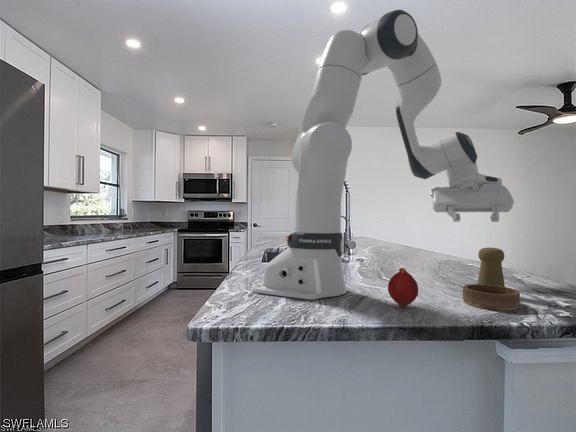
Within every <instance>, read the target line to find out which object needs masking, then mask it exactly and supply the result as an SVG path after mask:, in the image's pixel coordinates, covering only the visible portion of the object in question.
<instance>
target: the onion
mask: <svg viewBox="0 0 576 432" xmlns="http://www.w3.org/2000/svg"><path fill="white" fill-rule="evenodd" d="M398 270H399V271H398V272H396V273H395V274H393V275H392V276H391V278H390V279H389V280H388V284H387V291H388V295H389V296H390V298H391V300H393V301H394V302H395V303H396V304H397V305H398V306H399V307H400V308H406V307H407V306H409V305H410V304H412V303H413V302H415V300H416V299H417V298H418V296H419V286H418V282H417V281H416V279H415V278H414V277H413V276H412V274H410V273H409V272H408V271H407V270H406V268H404V267H401V268H398Z"/></svg>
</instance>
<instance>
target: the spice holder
mask: <svg viewBox="0 0 576 432" xmlns="http://www.w3.org/2000/svg"><path fill="white" fill-rule="evenodd" d="M520 293H521V292H520V291H518V290H517V289H513V288H511V287H506V286H505V287H502V286H496V285H486V284H478V283H469V284H468V283H467V284H464V285H463V286H462V301H463V303H464V302H465V303H464V304H466V303H467V304H466V305H468V304H469V305H468V306H471V305H472V306H471V307H474V306H475V307H474V308H477V309H482V310H488V311H496V312H497V311H499V312H513V311H517V310H520V305H521V304H520V303H521V299H520V298H521V296H520V295H521V294H520Z"/></svg>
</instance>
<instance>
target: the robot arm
mask: <svg viewBox="0 0 576 432" xmlns="http://www.w3.org/2000/svg"><path fill="white" fill-rule="evenodd" d="M385 67H386V68H388V69H389V70H390V72H391V75H392V77H393V80H394V81H395V84H396V86H397V87H396V88H398V93H399V100H398V102H397V103H396V105H395V113H396V114H395V115H396V119H397V123H398V126H399V131H400V134H401V137H402V141H403V145H404V148H405V151H406V155H407V160H408V161H407V162H408V167H409V170H410V172H411V173H412V175H413V177H416V178H418V179H421V180H422V179H423V180H427V179H429V178H431V177H433V176H435V175H437V174H440V173H442V172H444V171H445V172H446V177H447V179H448V185H449V186H441V187H439V186H436V187H434V188H432V189H430V191H429V195H430V197H431V198H432V209H433V211H434V212H436V213H447V215H448V216H449V217H451V218H452V221H453V223H454V222H455V223H456V222H457V223H459V222H461V221H460V220H461V214H460V213H491V215H490V221H491V223H498V222H499V221H500V213H509V212H510V211H511V210H512V208H513V207H514V203H515V202H514V198H513V195H512V194H511V192H510V189H508V188H507V187H506V186H505V185H503V179H502V178H501V177H495V176H490V175H485V174H482V173H480V172H478V171H479V169H478V168H479V167H478V165H477V161H478V154H477V152H476V149H475V148H476V147H475V145H474V142H473V141H472V139H471V138H470V136H469V135H467V134H465V133H464V132H459V131H456V132H452V133H450V134H447V135H445V136H443V137H441V138H439V139H436V140H435V141H432V142H430V143H428V144H425V145H420V143H419V140H418V135H417V132H416V129H415V126H414V125H415V121H416V119H417V117H418V116H419V115H420V114H421V113H422V112H423V110H424V109H426V107H427V106H428V105H429V104H430V103H432V102H433V100H434V99H435V98H436V96H437V94H439V93H438V92H439V91H440V89H441V85H442V76H441V71H440V69H439V66H438V64H437V62H436V60H435V58H434V56H433V54H432V52H431V50H430V48H429V46H428V45H427V43H426V42H425V41H424V39H423V38H422V36H421V35H420V34H419V30H418V26H417V23H416V21H415V18H414V17H413V16H412V15H411V14H409V12H407V11H406V10H403V9H396V10H392V11H389V12H387V13H385V14H383V15H382V16H381V17H380V18H378V19H375V20H374V21H372V22H370V23H367V24H366V25H365V26H363V27H362V28H361V29H359V30H358V31H357V32H356V31H354V30H351V29H342V30H339V31H337V32H335V33H334V34H332V35H331V37H330V38H329V40H328V42H327V44H326V46H325V49H324V50H323V53H322V55H321V57H320V61H319V64H318V68H317V69H316V75H315V78H314V82H313V85H312V89H311V92H310V96H309V100H308V103H307V105H306V109H305V112H304V115H303V117H302V121H301V123H300V127H299V130H298V133H297V137H296V139H295V144H294V147H293V150H292V154H291V162H292V165H293V169H294V170H295V171H296V172H297V173H298V183H297V190H296V197H295V214H294V215H295V220H294V221H295V225H294V226H295V229H294V230H295V231H294V232H293V233H290V234H289V235H288V236H286V242H287V244H286V245H287V248H285V249H284V250H283V251H281V252H280V253H279V254H277V255H276V256H275V257H274V258H273V259H272V260H270V261H269V262H268V263H267V264H266V266H265V269H264V273H263V279H262V280H261V281H258V282H257V283H256V284H255V285H254V288H253V291H254V292H255V293H257V294H263V295H264V294H265V295H271V296H278V297H279V296H280V297H285V298H286V297H287V298H295V299H303V300H318V299H322V298H331V297H338V296H341V295H344V294H346V293H347V292H348V288H347V286H346V281H345V276H344V269H343V261H342V260H343V258H342V256H343V253H344V238H343V232H341V231H342V228H341V227H342V225H341V224H342V197H343V190H344V184H345V179H346V173H347V167H348V160H349V157H350V155H351V153H352V149H353V141H352V138H351V135H350V133H349V131H348V130H347V126H348V123H349V121H350V119H351V118H352V115H353V113H354V110H355V109H354V108H355V106H356V102H357V97H358V93H359V90H360V85H361V82H362V78H363V76H365V75H368V74H369V73H372V72H375V71H378V70H381V69H383V68H385Z"/></svg>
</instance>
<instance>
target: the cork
mask: <svg viewBox="0 0 576 432" xmlns="http://www.w3.org/2000/svg"><path fill="white" fill-rule="evenodd" d="M478 259H479V260H480V267H479V272H478V278H477V279H478V280H477V284H486V285H496V286H502V287H506V285H505V278H504V272H503V265H502V262H503V261H504V259H505V252H504V251H503V250H502V249H500V248H498V247H489V246H488V247H483V248H480V249H479V251H478Z"/></svg>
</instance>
